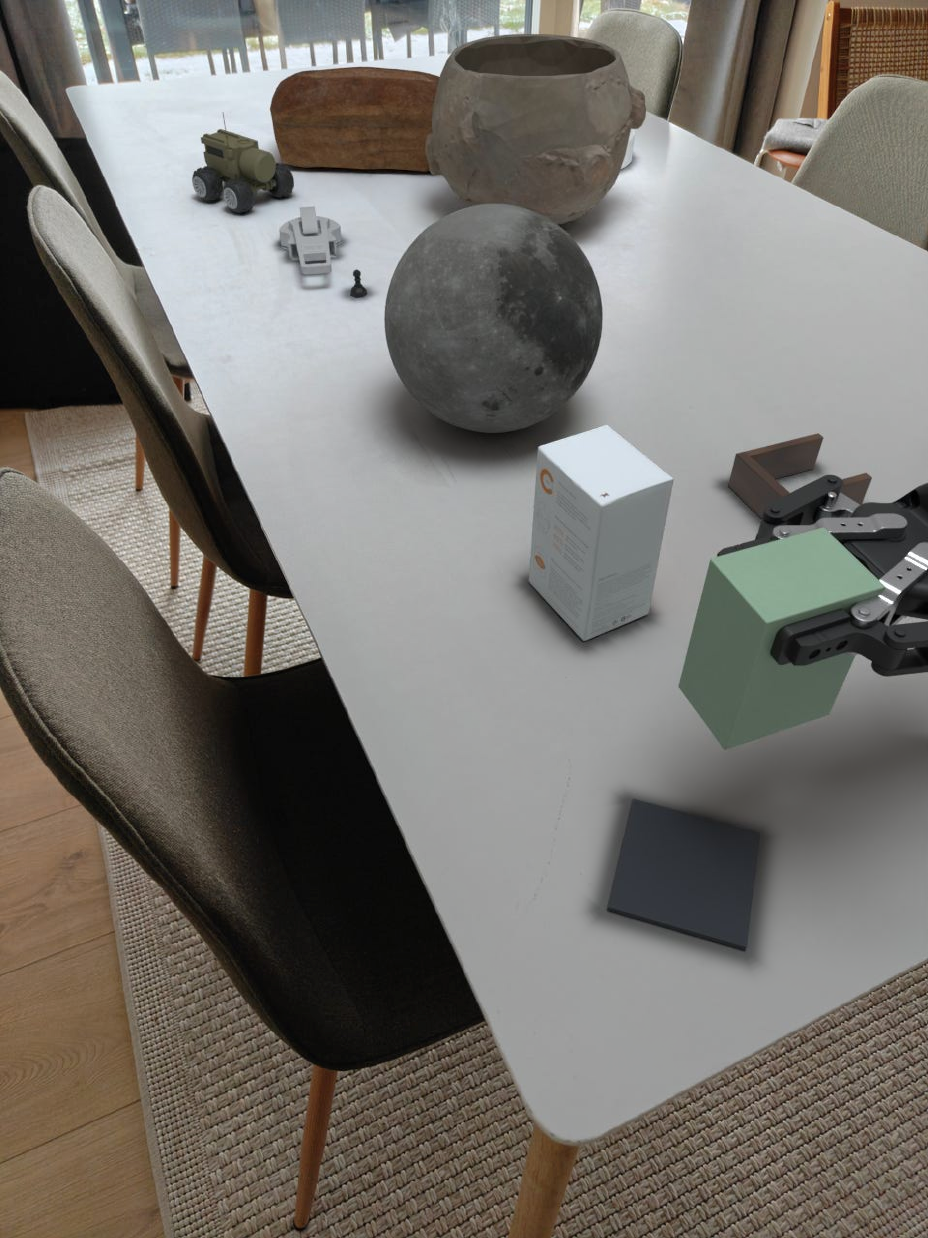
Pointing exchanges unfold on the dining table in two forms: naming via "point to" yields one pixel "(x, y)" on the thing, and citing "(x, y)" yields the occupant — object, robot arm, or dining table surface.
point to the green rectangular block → (768, 635)
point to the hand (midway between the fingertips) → (745, 609)
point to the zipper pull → (311, 240)
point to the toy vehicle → (239, 171)
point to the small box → (597, 529)
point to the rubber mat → (686, 873)
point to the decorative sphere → (493, 318)
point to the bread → (354, 118)
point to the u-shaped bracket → (783, 472)
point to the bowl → (533, 122)
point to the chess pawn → (357, 286)
